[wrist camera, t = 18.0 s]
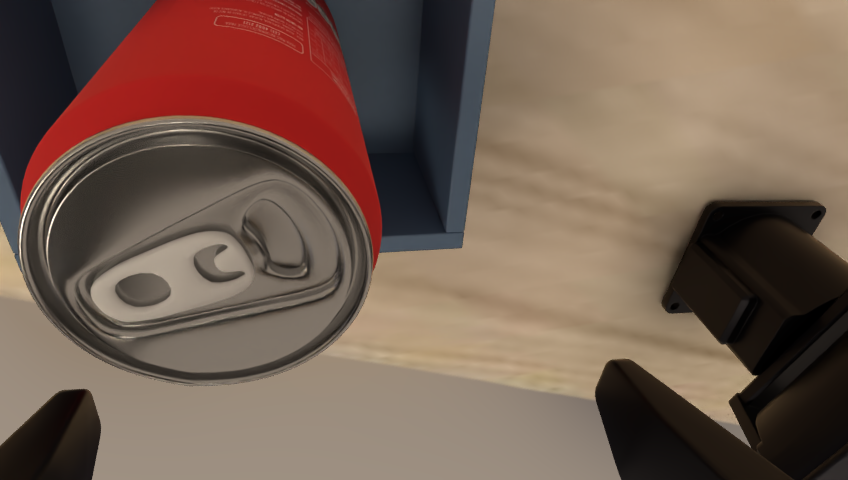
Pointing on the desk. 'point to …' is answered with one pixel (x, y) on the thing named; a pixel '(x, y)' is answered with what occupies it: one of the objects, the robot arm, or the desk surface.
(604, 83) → the desk surface
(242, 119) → the beverage can
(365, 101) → the slate grey box
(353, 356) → the desk surface
